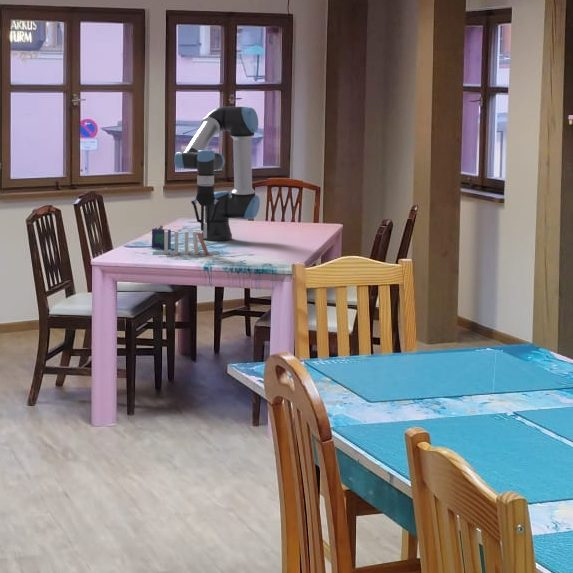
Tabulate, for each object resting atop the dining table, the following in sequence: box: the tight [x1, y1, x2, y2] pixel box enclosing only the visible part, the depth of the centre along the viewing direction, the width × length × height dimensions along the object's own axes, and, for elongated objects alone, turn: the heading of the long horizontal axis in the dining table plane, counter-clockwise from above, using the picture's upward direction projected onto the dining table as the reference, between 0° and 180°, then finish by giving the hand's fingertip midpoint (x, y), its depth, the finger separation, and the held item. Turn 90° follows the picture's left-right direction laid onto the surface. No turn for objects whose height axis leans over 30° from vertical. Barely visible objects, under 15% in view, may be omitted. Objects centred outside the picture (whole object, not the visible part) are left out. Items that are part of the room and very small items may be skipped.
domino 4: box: [192, 230, 199, 254], centre depth 531 cm, size 2×5×10 cm, turn 6°
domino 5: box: [197, 230, 209, 254], centre depth 532 cm, size 2×5×10 cm, turn 4°
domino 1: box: [163, 230, 169, 254], centre depth 530 cm, size 2×5×10 cm, turn 6°
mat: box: [152, 251, 221, 256], centre depth 532 cm, size 30×10×1 cm, turn 96°
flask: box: [151, 225, 172, 250], centre depth 546 cm, size 9×3×11 cm, turn 74°
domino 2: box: [173, 229, 179, 254], centre depth 530 cm, size 2×5×10 cm, turn 6°
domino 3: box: [184, 230, 190, 254], centre depth 531 cm, size 2×5×10 cm, turn 6°
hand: (205, 237), depth 531 cm, fingers closed
